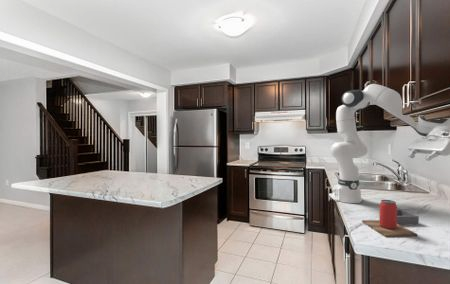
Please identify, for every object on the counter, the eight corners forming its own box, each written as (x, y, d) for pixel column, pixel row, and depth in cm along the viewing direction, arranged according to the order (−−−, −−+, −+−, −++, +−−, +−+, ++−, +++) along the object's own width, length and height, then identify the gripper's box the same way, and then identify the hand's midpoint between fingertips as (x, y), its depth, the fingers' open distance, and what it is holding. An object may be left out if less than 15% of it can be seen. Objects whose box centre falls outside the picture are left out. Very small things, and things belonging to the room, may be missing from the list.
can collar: (380, 216, 121) (380, 209, 121) (400, 216, 121) (400, 208, 121) (396, 224, 110) (396, 216, 110) (418, 224, 110) (418, 216, 110)
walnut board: (362, 222, 113) (362, 220, 113) (389, 221, 113) (389, 220, 113) (385, 236, 97) (385, 234, 97) (417, 236, 97) (417, 234, 97)
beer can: (388, 230, 101) (389, 203, 101) (375, 224, 108) (376, 199, 107) (400, 228, 103) (400, 202, 102) (387, 223, 109) (387, 198, 109)
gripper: (416, 133, 121) (397, 152, 121) (455, 133, 100) (432, 156, 101) (424, 142, 121) (405, 160, 121) (465, 143, 100) (442, 166, 101)
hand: (418, 158), depth 111 cm, fingers open, 8 cm apart
